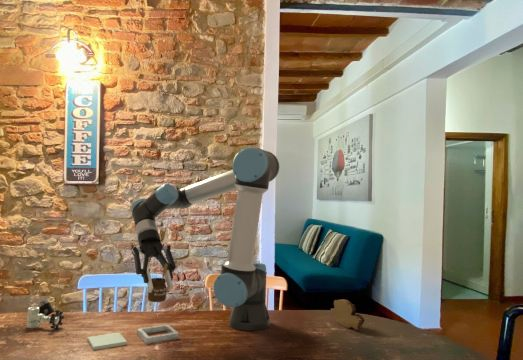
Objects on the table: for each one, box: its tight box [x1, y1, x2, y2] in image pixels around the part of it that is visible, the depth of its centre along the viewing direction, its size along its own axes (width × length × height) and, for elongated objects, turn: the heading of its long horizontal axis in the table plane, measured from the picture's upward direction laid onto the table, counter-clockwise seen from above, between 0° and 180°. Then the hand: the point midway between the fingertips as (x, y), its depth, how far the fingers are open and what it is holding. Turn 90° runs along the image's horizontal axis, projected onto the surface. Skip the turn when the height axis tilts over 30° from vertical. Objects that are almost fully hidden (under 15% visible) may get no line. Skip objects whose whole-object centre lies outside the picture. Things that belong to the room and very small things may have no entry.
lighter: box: [38, 300, 55, 316], centre depth 161 cm, size 9×2×6 cm
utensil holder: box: [147, 263, 168, 303], centre depth 144 cm, size 6×6×12 cm
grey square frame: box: [136, 324, 180, 345], centre depth 143 cm, size 11×11×2 cm
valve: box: [26, 306, 65, 330], centre depth 150 cm, size 7×7×12 cm
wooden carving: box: [330, 298, 365, 331], centre depth 159 cm, size 16×5×10 cm, turn 34°
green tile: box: [87, 331, 128, 351], centre depth 136 cm, size 10×10×1 cm
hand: (161, 289), depth 141 cm, fingers closed on utensil holder, 6 cm apart
